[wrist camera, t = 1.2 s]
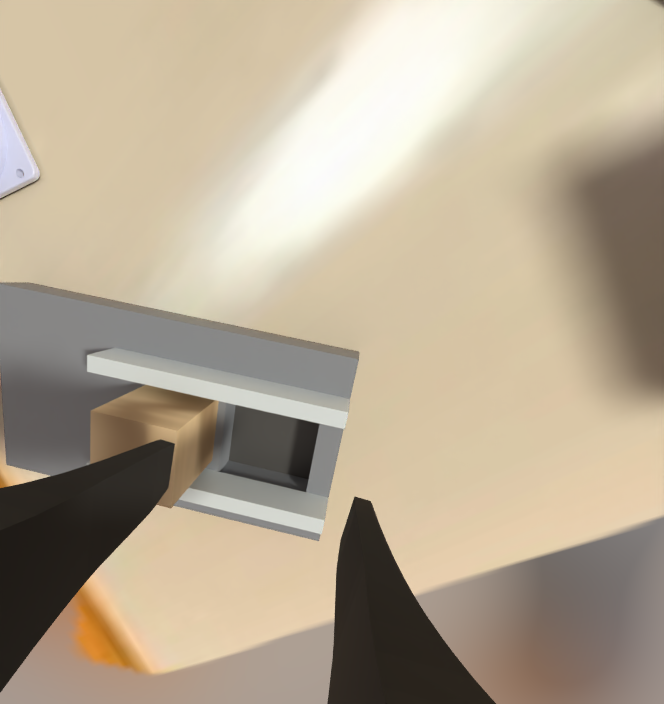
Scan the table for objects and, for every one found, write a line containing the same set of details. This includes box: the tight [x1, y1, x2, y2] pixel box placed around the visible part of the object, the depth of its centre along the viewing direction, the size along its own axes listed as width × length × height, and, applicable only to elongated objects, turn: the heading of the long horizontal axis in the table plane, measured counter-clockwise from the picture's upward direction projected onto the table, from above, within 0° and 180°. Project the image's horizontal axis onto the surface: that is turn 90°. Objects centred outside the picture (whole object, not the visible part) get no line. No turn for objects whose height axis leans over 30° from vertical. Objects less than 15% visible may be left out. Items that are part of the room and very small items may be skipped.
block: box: [90, 385, 219, 508], centre depth 18 cm, size 4×4×4 cm
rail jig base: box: [0, 283, 359, 541], centre depth 20 cm, size 23×13×4 cm, turn 79°
